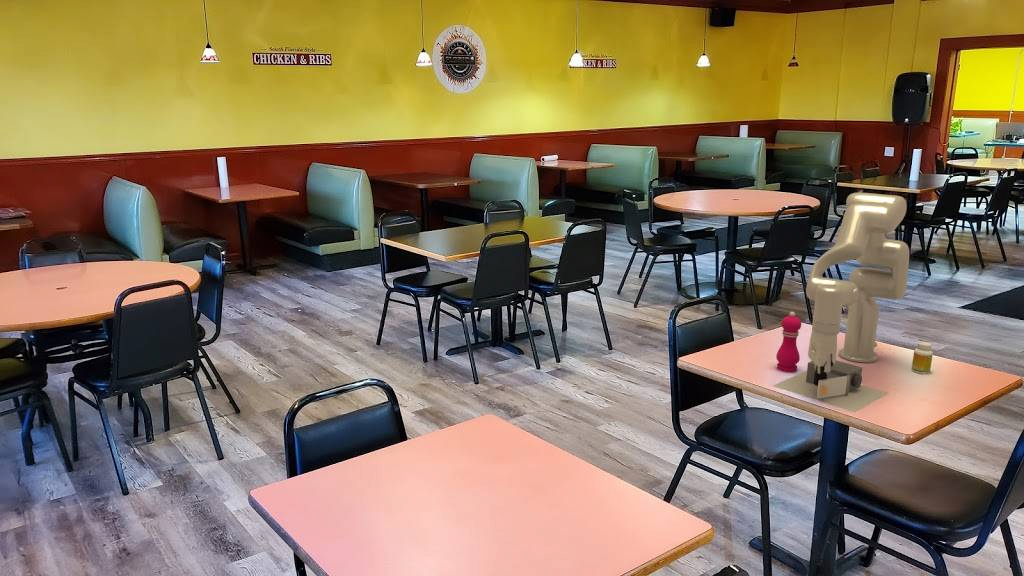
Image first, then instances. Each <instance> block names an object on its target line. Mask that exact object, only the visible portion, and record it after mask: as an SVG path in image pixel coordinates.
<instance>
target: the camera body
mask: <svg viewBox="0 0 1024 576" xmlns="http://www.w3.org/2000/svg"><path fill="white" fill-rule="evenodd" d="M814 368H815V363H814V362H813V361H812V360H810V361H809V362H807V367H806V371H807V376H806V382H808V383H811V384H814V383H813V382H814V373H815V369H814ZM862 374H863V367H862V366H858V365H854V364H851V363H847V362H844V361H841V360H837V359H836V362H835V366H834V367H831V371H830V372H828V374H827V379H830V378H837V377H843V376H846V375H849V376H850V382H849V390H848V393H849V392H851V391H853V390H855V389H857V388H859V387H860V385H862V381H863V376H862ZM814 385H815V384H814Z"/></svg>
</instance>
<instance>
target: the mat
mask: <svg viewBox="0 0 1024 576" xmlns="http://www.w3.org/2000/svg"><path fill="white" fill-rule="evenodd" d="M806 376H807V370H805V371H802V372H801V373H798V374H796V375H793V376H791V377H789V378H785V380H782V381H780V382H778V383H775V384H773V385H772V386H773V387H774V388H775V387H776V388H779V389H781V390H785V391H787V392H791V393H794V394H796V395H800V396H803V397H807V398H809V399H812V400H817V401H819V402H822V403H825V404H829V405H832V406H835V407H837V408H841V409H844V410H848V411H850V412H854V413H856V412H857V411H859V410H861V409H863V408H865V407H866V406H868V405H869V406H870V404H872V403H874V402H875V401H878V400H879V399H881V398H882V397H883V398H884V397H885V396H886V395H888V394H889V392H886V391H883V390H880V389H876V388H873V387H869V386H867V385H863V384H861V385H860V387H859V388H857V389H855V390H853V391H851V392H849V393H848V395H838V396H832V397H826V398H820V399H818V398H817V391H818V386H815V385H814V384H811V383H808V382H806Z"/></svg>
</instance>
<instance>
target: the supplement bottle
mask: <svg viewBox="0 0 1024 576" xmlns="http://www.w3.org/2000/svg"><path fill="white" fill-rule="evenodd" d="M931 349H932V343H930V342H927V341H918V342H917V346H916V348H914V351H913V357H912V364H911V371H912V372H914V373H916V374H920V375H921V374H922V375H928V374H930V373H931V367H932V361H933V355H934V352H933V351H932V350H931Z"/></svg>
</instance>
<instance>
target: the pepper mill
mask: <svg viewBox="0 0 1024 576" xmlns="http://www.w3.org/2000/svg"><path fill="white" fill-rule="evenodd" d="M788 314H789V315H787V316H785V317H784V318H782V320H781V327H782V329H783V330H782V332H781V335H782V336H783V339H782V343H781V345H780V346H779V348H778V350H777V352H776V355H775V358H776V360H777V364H776V369H777V370H778V371H780V372H784V373H796V372H797V370H798V365H797V364H798V363H799V362H800V359H801V358H800V352H799V350H798V347H797V338H798V337H799V334H800V331H799V330H800V329H801V328H802V321H801V319H800V318H799V317H797V316H796V312H795V311H790V312H789V313H788Z"/></svg>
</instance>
